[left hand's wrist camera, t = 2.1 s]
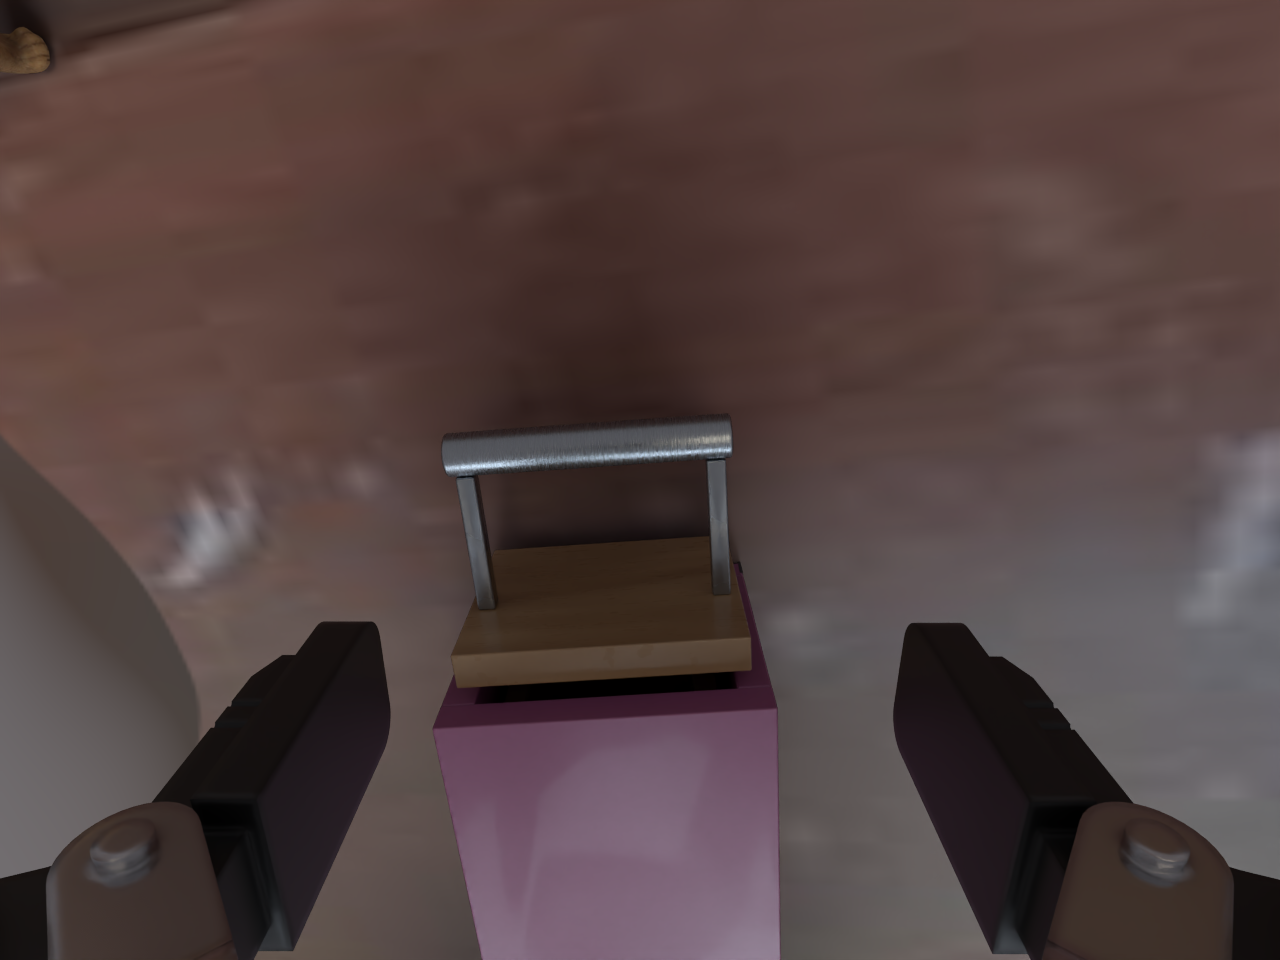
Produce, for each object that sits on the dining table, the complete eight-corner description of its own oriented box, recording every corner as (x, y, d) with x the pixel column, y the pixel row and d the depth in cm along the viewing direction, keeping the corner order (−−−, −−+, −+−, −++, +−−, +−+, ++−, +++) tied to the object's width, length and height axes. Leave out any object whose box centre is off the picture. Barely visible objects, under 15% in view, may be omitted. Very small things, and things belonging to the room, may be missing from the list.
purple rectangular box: (490, 578, 31) (431, 728, 22) (740, 562, 31) (778, 707, 22) (550, 939, 38) (523, 1156, 30) (752, 929, 38) (783, 1146, 29)
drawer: (469, 398, 27) (413, 466, 20) (720, 380, 27) (745, 443, 20) (552, 912, 36) (532, 1075, 30) (740, 902, 36) (762, 1065, 29)
